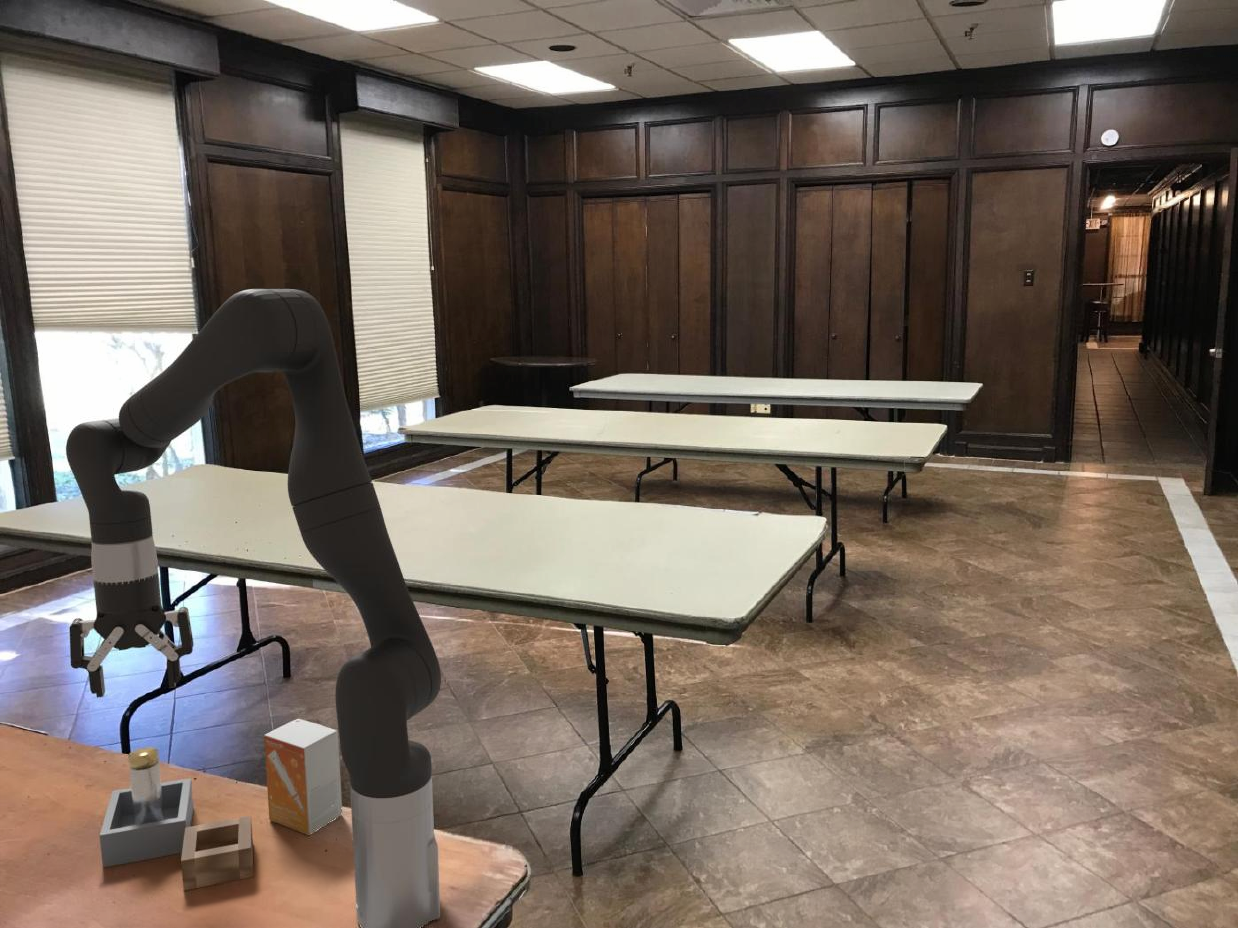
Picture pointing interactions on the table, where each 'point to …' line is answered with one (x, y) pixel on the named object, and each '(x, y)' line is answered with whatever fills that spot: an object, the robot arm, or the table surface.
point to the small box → (303, 775)
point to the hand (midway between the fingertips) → (137, 690)
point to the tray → (146, 826)
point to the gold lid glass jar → (146, 785)
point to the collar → (217, 853)
